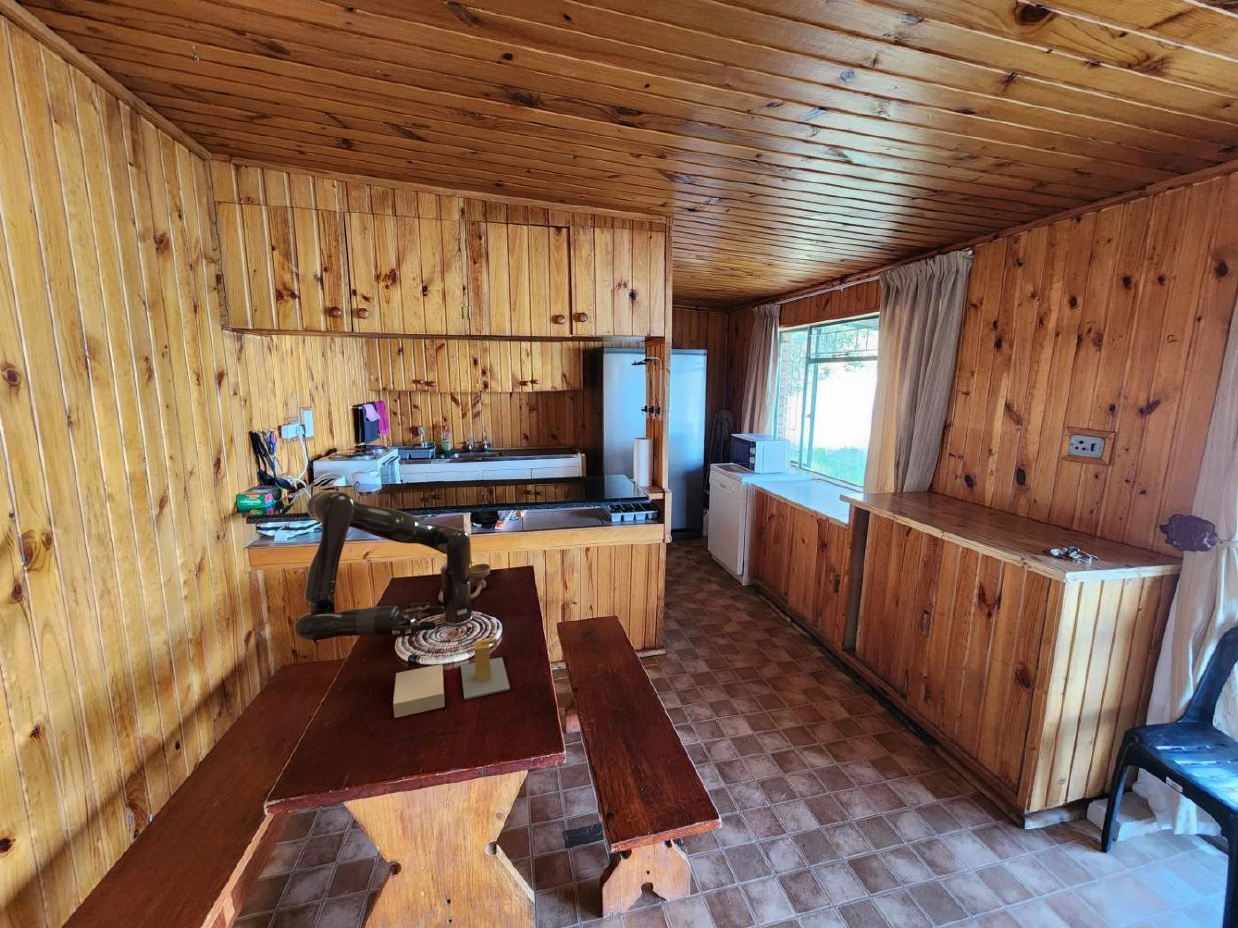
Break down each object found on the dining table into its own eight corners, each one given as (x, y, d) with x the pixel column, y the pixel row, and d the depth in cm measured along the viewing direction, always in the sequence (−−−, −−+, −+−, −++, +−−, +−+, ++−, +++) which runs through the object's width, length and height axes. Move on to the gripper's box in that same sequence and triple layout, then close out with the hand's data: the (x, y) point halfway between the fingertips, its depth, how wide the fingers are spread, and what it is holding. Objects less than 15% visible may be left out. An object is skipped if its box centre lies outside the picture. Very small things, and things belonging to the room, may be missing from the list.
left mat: (460, 667, 149) (460, 665, 149) (502, 658, 153) (502, 656, 153) (464, 700, 134) (464, 698, 134) (510, 689, 138) (509, 687, 138)
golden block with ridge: (476, 673, 144) (473, 638, 142) (498, 670, 146) (496, 635, 144) (476, 681, 141) (474, 645, 139) (499, 678, 142) (497, 642, 140)
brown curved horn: (434, 610, 186) (486, 604, 187) (430, 588, 184) (483, 582, 186) (449, 583, 209) (496, 577, 211) (446, 563, 208) (493, 558, 209)
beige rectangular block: (397, 685, 140) (396, 672, 139) (443, 676, 144) (442, 663, 143) (394, 718, 127) (393, 703, 126) (444, 706, 131) (443, 693, 131)
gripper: (366, 621, 130) (431, 617, 131) (386, 596, 144) (444, 593, 145) (369, 647, 131) (433, 643, 133) (388, 620, 145) (446, 617, 146)
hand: (439, 617), depth 139 cm, fingers open, 8 cm apart
